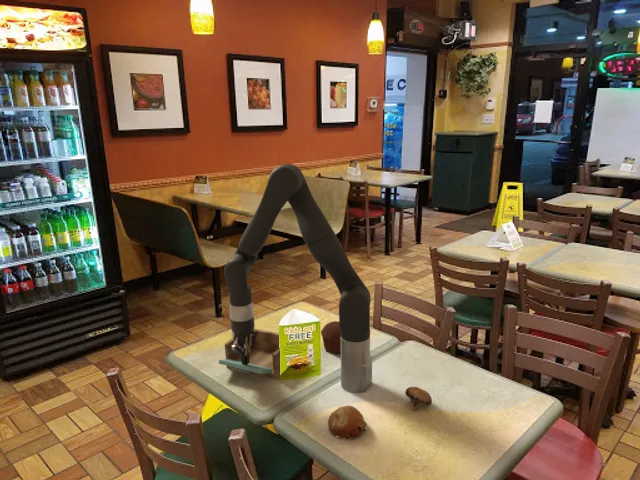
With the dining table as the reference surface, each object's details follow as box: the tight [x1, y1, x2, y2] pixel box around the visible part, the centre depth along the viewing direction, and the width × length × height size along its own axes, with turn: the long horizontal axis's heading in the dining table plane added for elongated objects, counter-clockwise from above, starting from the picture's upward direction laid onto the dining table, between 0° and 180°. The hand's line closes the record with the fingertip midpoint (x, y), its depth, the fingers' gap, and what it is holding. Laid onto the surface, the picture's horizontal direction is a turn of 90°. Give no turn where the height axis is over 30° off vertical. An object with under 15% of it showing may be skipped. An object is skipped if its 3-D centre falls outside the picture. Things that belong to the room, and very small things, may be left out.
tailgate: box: [218, 358, 273, 375], centre depth 156 cm, size 17×2×7 cm
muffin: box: [320, 320, 341, 355], centre depth 174 cm, size 12×11×10 cm
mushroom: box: [404, 386, 433, 411], centre depth 140 cm, size 8×8×6 cm
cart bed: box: [224, 328, 281, 380], centre depth 165 cm, size 20×14×9 cm
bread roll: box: [327, 404, 368, 440], centre depth 131 cm, size 10×10×8 cm
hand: (245, 363), depth 156 cm, fingers closed
